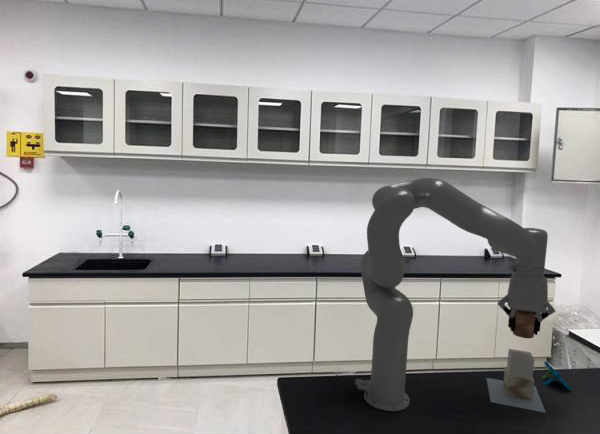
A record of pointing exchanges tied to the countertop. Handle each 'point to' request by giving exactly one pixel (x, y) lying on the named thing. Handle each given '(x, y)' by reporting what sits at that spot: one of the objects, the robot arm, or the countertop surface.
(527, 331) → the cylinder
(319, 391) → the countertop surface
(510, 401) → the mat
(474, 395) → the countertop surface
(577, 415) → the countertop surface
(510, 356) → the upper block
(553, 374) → the blue angular piece
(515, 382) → the lower block
